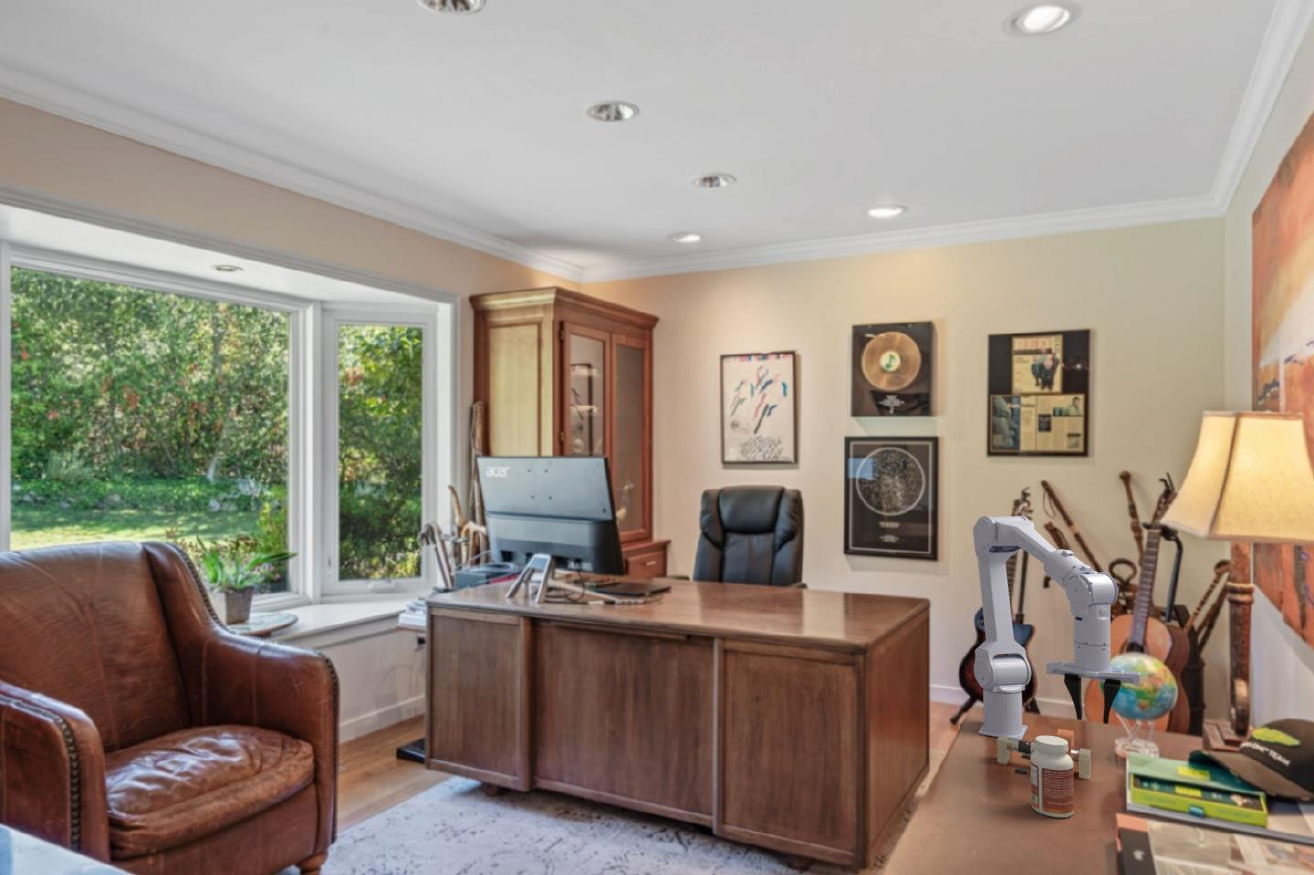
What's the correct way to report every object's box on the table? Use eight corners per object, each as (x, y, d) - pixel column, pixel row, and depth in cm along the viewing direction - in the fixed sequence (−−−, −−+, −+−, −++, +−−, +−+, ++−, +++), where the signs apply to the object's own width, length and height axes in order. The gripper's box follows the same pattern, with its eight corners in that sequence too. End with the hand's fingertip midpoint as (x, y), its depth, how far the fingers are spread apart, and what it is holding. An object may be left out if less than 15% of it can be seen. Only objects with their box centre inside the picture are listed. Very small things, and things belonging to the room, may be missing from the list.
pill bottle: (1082, 813, 130) (1081, 741, 130) (1060, 822, 126) (1059, 749, 127) (1045, 799, 135) (1044, 731, 135) (1022, 808, 132) (1022, 737, 132)
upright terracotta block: (1055, 775, 145) (1054, 738, 145) (1058, 764, 150) (1058, 728, 150) (1070, 778, 144) (1070, 740, 144) (1074, 767, 149) (1073, 731, 149)
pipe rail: (994, 768, 149) (993, 744, 149) (1003, 752, 157) (1003, 729, 157) (1087, 786, 141) (1087, 760, 141) (1092, 768, 149) (1091, 744, 149)
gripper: (1043, 641, 146) (1044, 719, 145) (1139, 651, 138) (1140, 733, 138) (1048, 634, 152) (1049, 709, 151) (1140, 644, 144) (1141, 722, 144)
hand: (1092, 720), depth 145 cm, fingers open, 3 cm apart
